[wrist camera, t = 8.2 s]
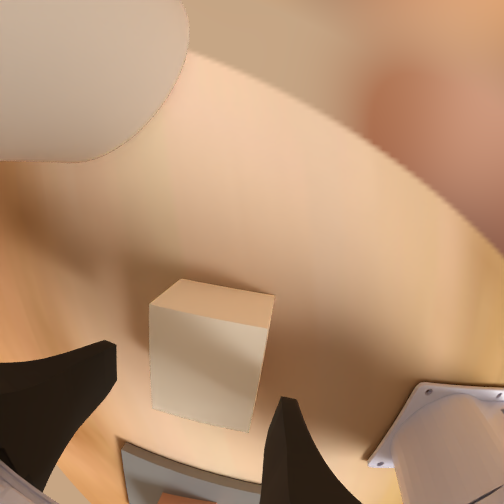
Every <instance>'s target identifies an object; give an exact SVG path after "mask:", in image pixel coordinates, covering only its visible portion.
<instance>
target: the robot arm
mask: <svg viewBox="0 0 504 504" xmlns="http://www.w3.org/2000/svg"><path fill="white" fill-rule="evenodd" d="M116 381H117V363H116V344H113V343H111V342H109V341H106V340H103V341H100V342H97V343H94V344H91V345H88V346H85V347H82V348H79V349H76V350H73V351H70V352H67V353H63V354H60V355H56V356H52V357H48V358H44V359H39V360H33V361H26V362H13V363H0V504H58V503H57V502H55V501H54V500H52V499H51V498H49V497H48V496H46V495H45V494H43V490H44V488H45V486H46V483H47V481H48V479H49V477H50V474H51V473H52V471H53V468H54V467H55V465H56V463H57V461H58V459H59V458H60V456H61V454H62V453H63V451H64V449H65V448H66V446H67V444H68V443H69V441H70V440H71V438H72V437H73V435H74V434H75V432H76V431H77V430H78V428H79V427H80V426H81V425H82V424H83V423H84V421H85V420H86V419H87V418H88V417H89V416H90V415H91V414H92V412H93V411H94V410H95V409H96V408H97V407H98V406H99V405H100V403H101V402H102V401H103V400H104V399H105V398H106V396H107V395H108V393H109V392H110V390H111V389H112V387H113V386H114V384H115V382H116ZM428 389H430V390H429V391H427V390H428ZM426 391H427V392H426ZM367 463H368V466H369V467H376V468H395V471H396V475H397V479H398V484H399V488H400V492H401V496H402V501H403V504H504V388H498V387H477V386H462V385H450V384H439V383H429V382H421V383H419V384H418V385H416V387H415V388H414V390H413V392H412V393H411V395H410V397H409V399H408V400H407V402H406V404H405V406H404V407H403V409H402V410H401V412H400V414H399V415H398V417H397V419H396V420H395V422H394V423H393V425H392V426H391V428H390V429H389V431H388V432H387V434H386V435H385V437H384V438H383V440H382V441H381V443H380V444H379V446H378V447H377V448H376V450H375V451H374V453H373V454H372V455H371V457H370V458H369V459H368V461H367ZM259 504H362V503H361V502H360V501H359V500H358V499H356V498H355V497H354V496H353V495H352V494H351V493H350V492H349V491H348V490H347V489H346V488H345V487H344V485H343V484H342V483H341V482H340V481H339V480H338V479H337V478H336V476H335V475H334V474H333V472H332V471H331V470H330V468H329V467H328V465H327V464H326V462H325V461H324V459H323V458H322V456H321V454H320V453H319V451H318V449H317V447H316V445H315V443H314V441H313V440H312V437H311V435H310V433H309V431H308V429H307V426H306V424H305V421H304V419H303V416H302V414H301V411H300V408H299V405H298V402H297V400H296V399H292V398H287V397H282V396H281V398H280V401H279V404H278V406H277V409H276V411H275V414H274V416H273V419H272V422H271V424H270V427H269V429H268V434H267V439H266V444H265V449H264V461H263V474H262V487H261V496H260V502H259Z"/></svg>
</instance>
